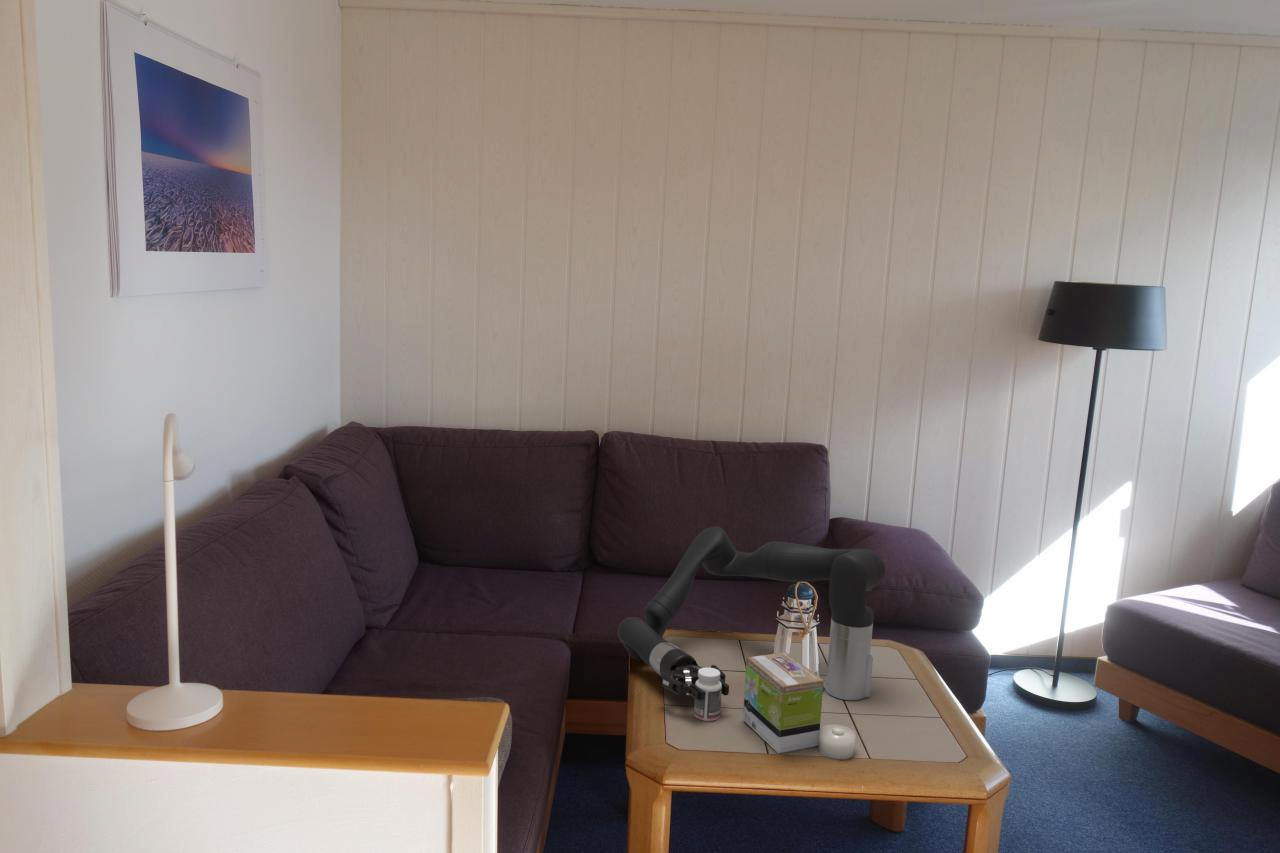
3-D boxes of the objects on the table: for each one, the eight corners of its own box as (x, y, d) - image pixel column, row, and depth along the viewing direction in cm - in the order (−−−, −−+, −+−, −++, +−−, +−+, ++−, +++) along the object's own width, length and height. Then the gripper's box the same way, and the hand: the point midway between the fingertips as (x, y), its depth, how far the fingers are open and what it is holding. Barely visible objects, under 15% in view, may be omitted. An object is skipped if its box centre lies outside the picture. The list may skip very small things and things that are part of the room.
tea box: (740, 721, 210) (745, 655, 207) (781, 714, 214) (786, 649, 211) (777, 755, 196) (782, 684, 193) (820, 747, 200) (826, 678, 197)
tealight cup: (848, 742, 203) (850, 720, 202) (858, 759, 196) (860, 737, 195) (814, 742, 202) (816, 720, 201) (823, 760, 195) (825, 737, 194)
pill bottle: (720, 711, 214) (723, 667, 212) (719, 723, 208) (722, 678, 207) (693, 708, 214) (696, 665, 213) (692, 720, 209) (695, 676, 207)
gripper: (698, 674, 227) (741, 704, 212) (644, 685, 219) (685, 717, 205) (700, 643, 225) (744, 671, 211) (645, 653, 218) (687, 683, 204)
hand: (714, 693), depth 208 cm, fingers closed on pill bottle, 5 cm apart
